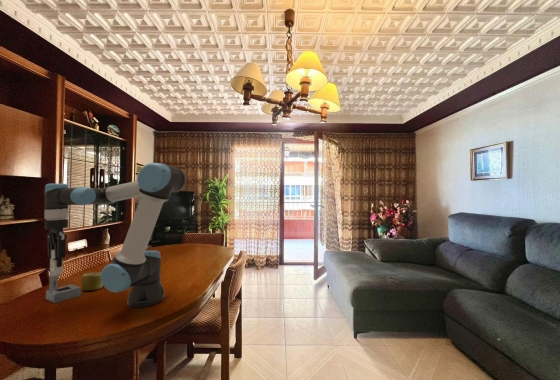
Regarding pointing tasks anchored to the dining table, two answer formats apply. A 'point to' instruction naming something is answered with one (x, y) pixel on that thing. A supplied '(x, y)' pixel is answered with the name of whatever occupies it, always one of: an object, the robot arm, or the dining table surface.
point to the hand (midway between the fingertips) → (56, 273)
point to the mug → (91, 281)
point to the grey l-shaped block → (61, 291)
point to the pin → (53, 262)
